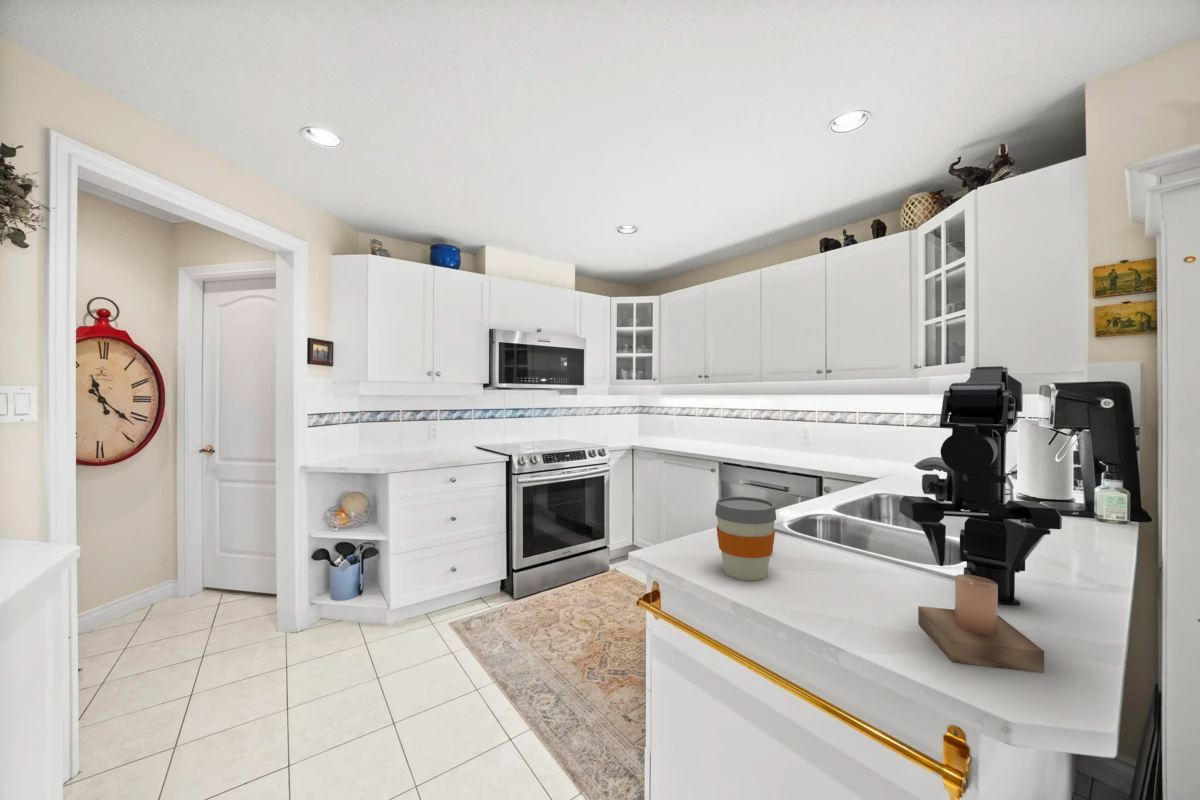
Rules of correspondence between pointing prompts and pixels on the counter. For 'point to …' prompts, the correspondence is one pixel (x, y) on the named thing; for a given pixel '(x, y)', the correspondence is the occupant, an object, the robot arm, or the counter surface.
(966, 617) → the tan cylinder
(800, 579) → the counter surface
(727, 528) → the reusable coffee cup
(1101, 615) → the counter surface
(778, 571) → the counter surface
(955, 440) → the robot arm
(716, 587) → the counter surface
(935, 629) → the walnut block
